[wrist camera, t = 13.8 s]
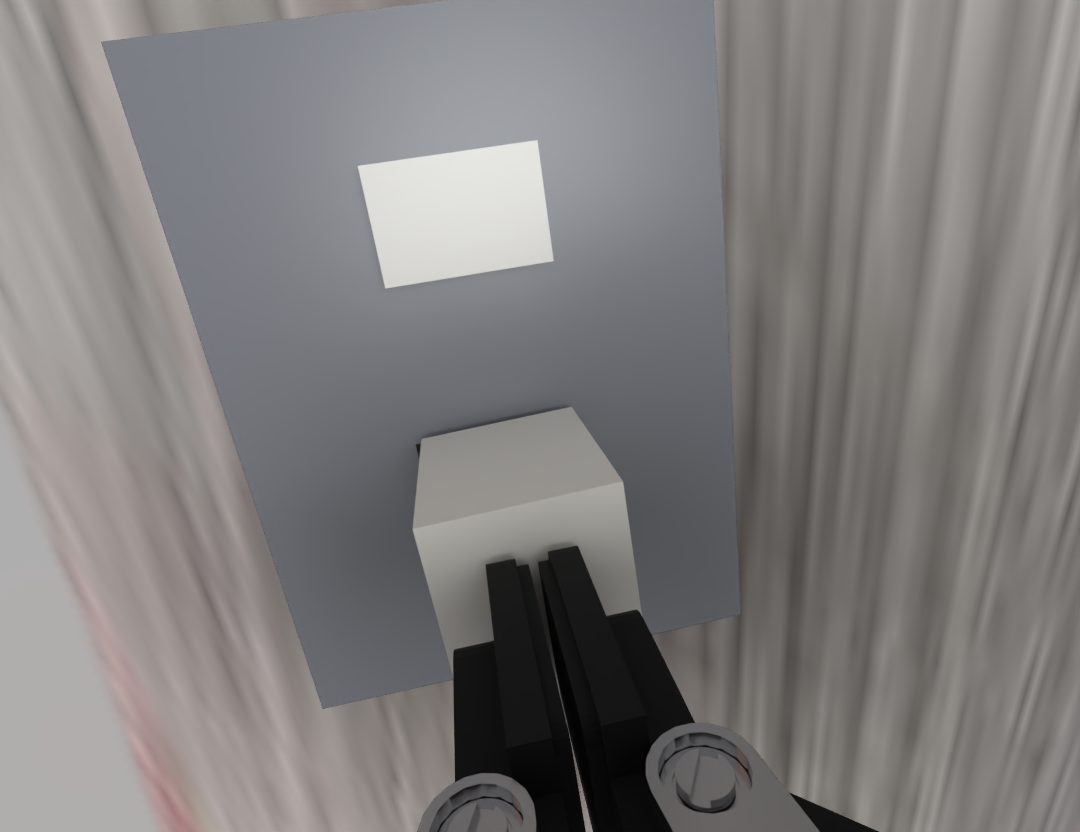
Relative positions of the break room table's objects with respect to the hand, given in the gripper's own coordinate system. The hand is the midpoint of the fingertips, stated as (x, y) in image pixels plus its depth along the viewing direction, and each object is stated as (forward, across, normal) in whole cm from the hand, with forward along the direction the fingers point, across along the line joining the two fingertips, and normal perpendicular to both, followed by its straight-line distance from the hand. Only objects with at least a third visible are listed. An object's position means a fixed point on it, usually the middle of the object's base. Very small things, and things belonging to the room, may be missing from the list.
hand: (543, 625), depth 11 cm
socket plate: (+8, 0, -3) cm, 8 cm away
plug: (+8, 0, 0) cm, 8 cm away
